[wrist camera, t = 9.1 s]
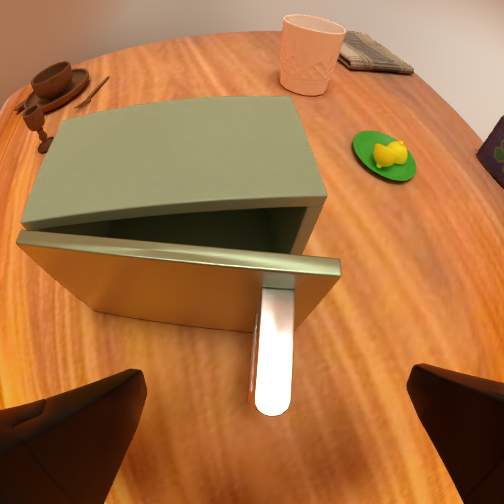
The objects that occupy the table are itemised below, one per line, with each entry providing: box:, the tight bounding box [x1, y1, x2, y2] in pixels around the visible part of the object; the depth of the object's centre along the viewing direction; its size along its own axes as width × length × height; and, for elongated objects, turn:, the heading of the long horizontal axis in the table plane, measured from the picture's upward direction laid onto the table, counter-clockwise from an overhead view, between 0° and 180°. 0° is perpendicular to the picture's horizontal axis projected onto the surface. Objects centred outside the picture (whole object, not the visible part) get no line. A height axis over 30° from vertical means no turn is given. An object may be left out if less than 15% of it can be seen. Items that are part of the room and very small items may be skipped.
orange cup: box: [280, 15, 346, 96], centre depth 31 cm, size 8×8×10 cm
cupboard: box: [21, 96, 327, 255], centre depth 18 cm, size 8×15×11 cm, turn 96°
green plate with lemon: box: [353, 131, 416, 181], centre depth 28 cm, size 8×8×3 cm
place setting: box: [14, 61, 109, 153], centre depth 29 cm, size 18×20×6 cm
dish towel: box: [338, 31, 414, 74], centre depth 44 cm, size 19×18×3 cm
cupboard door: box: [16, 230, 342, 416], centre depth 14 cm, size 6×15×10 cm, turn 86°
